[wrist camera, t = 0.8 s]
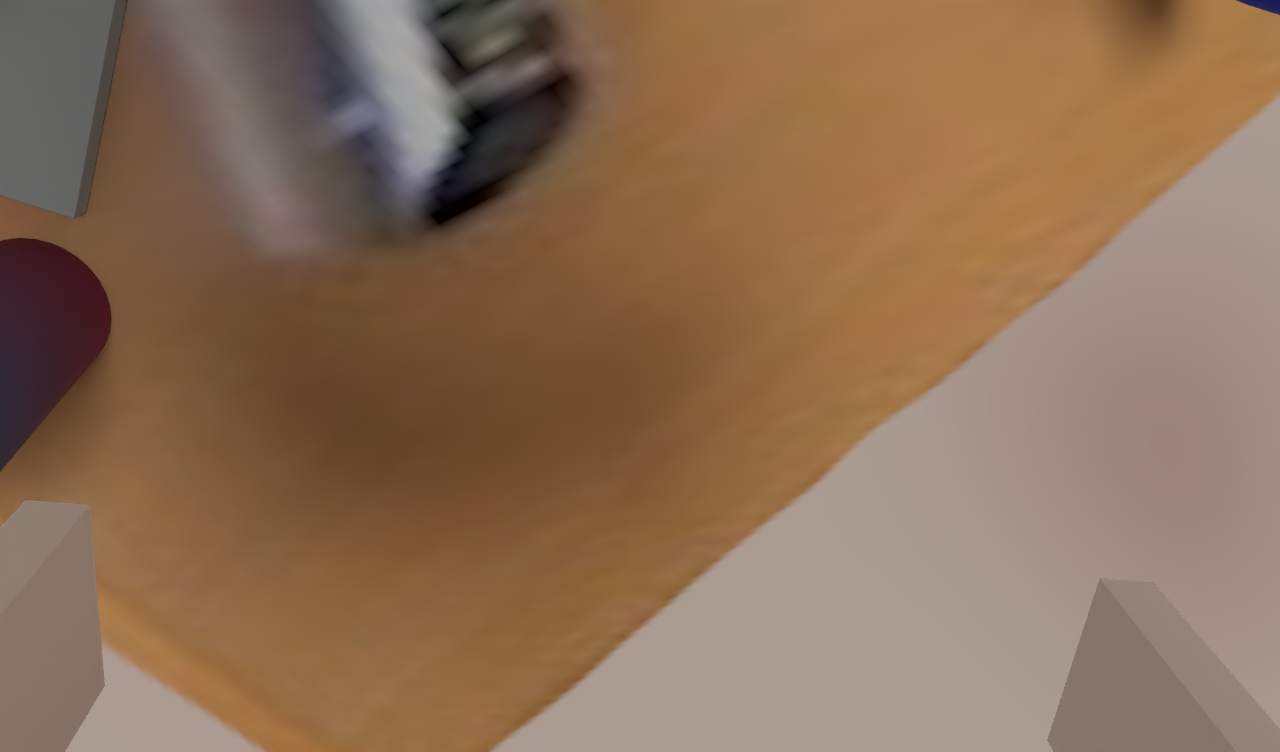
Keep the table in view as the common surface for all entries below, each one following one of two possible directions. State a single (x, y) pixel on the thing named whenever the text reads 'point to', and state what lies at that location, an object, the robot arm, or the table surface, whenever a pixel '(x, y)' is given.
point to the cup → (43, 333)
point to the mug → (1264, 5)
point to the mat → (54, 97)
